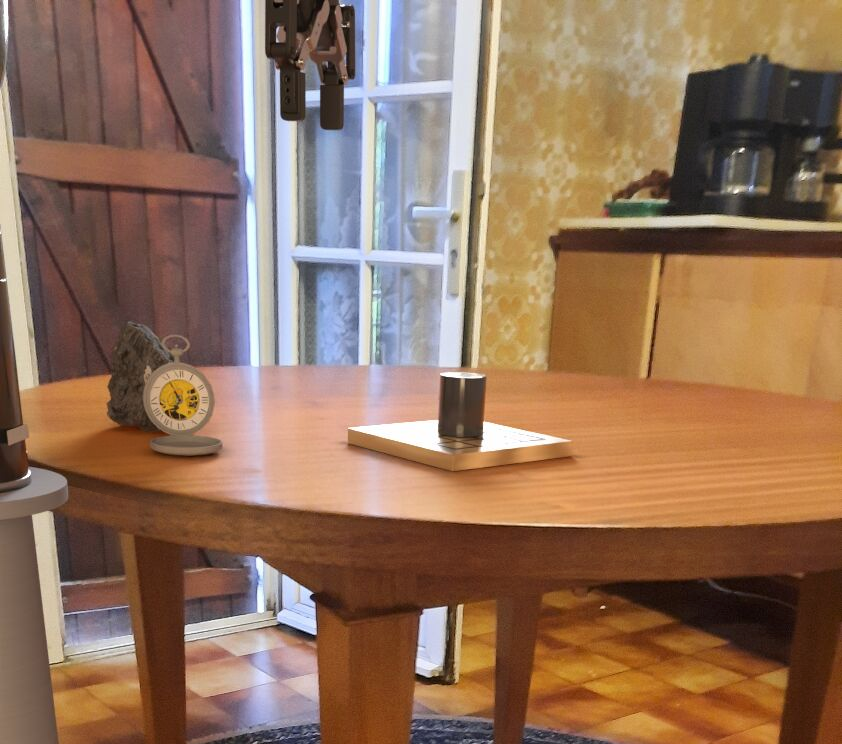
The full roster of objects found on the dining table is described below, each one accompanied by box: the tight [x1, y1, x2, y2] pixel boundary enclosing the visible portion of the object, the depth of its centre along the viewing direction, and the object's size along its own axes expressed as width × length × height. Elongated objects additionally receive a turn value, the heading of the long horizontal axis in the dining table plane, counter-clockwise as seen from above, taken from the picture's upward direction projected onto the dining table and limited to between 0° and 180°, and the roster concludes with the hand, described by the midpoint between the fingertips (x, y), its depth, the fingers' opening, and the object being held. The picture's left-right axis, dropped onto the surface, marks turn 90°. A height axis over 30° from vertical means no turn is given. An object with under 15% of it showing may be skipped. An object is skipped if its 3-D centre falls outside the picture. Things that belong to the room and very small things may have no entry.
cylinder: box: [437, 371, 488, 438], centre depth 106 cm, size 5×5×6 cm
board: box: [347, 419, 574, 472], centre depth 107 cm, size 16×16×2 cm
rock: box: [106, 320, 198, 432], centre depth 111 cm, size 12×10×10 cm
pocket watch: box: [143, 334, 223, 457], centre depth 99 cm, size 8×8×10 cm
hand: (313, 125), depth 100 cm, fingers open, 8 cm apart
